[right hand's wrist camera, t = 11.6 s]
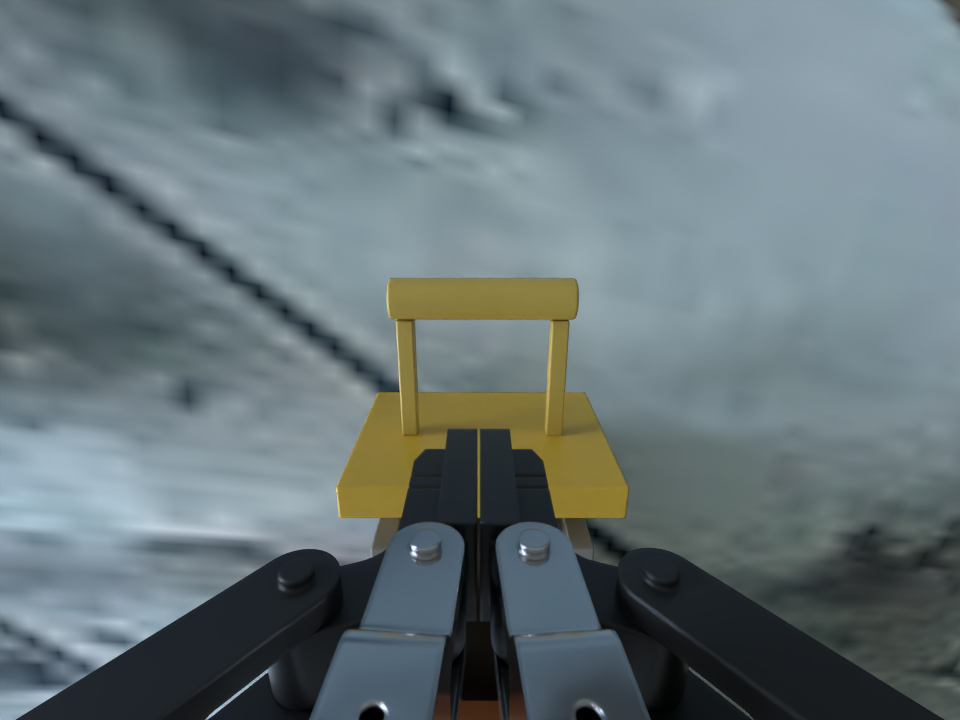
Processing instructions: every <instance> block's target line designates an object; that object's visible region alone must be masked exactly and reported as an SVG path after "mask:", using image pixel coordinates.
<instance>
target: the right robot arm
mask: <svg viewBox="0 0 960 720" xmlns="http://www.w3.org/2000/svg"><path fill="white" fill-rule="evenodd" d="M477 503H478V475H477V428H448V430H447V438H446V446H445V449H425V450H424V451H423V452H422V453H421V454H420V455H419V456H418V457H417V458H416V459H415V460H414V463H413V468H412V472H411V477H410V481H409V488H408V490H407V495H406V499H405V504H404V508H403V513H402V517H401V522H400V526H399V531H398V532H397V533H396V534H395V535H394V536H393V537H392V538H391V540H390V542H389V544H388V546H387V549H385V550H384V551H383V552H381V553H380V554H378V555H376V556H374V557H372V558H369V559H367V560H364V561H360V562H356V563H352V564H348V565H344V566H339V563H338V561H337V560H336V558H335V557H334V556H332V555H331V554H329V553H327V552H325V551H322V550H317V549H303V550H297V551H293V552H290V553H287V554H284V555H282V556H280V557H278V558H276V559H274V560H273V561H271V562H269V563H268V564H266V565H265V566H263V567H261V568H260V569H258V570H256V571H255V572H253V573H252V574H250V575H248V576H247V577H245V578H244V579H242V580H240V581H239V582H237V583H235V584H234V585H232V586H231V587H229V588H227V589H226V590H224V591H223V592H221V593H219V594H218V595H216V596H215V597H213V598H211V599H210V600H208V601H206V602H205V603H203V604H202V605H200V606H198V607H197V608H195V609H194V610H192V611H190V612H189V613H187V614H186V615H184V616H182V617H181V618H179V619H177V620H176V621H174V622H173V623H171V624H169V625H168V626H166V627H165V628H163V629H161V630H160V631H158V632H156V633H155V634H153V635H152V636H150V637H148V638H147V639H145V640H144V641H142V642H140V643H139V644H137V645H136V646H134V647H132V648H131V649H129V650H127V651H126V652H124V653H123V654H121V655H119V656H118V657H116V658H115V659H113V660H111V661H110V662H108V663H106V664H105V665H103V666H102V667H100V668H98V669H97V670H95V671H94V672H92V673H90V674H89V675H87V676H86V677H84V678H82V679H81V680H79V681H77V682H76V683H74V684H73V685H71V686H69V687H68V688H66V689H65V690H63V691H61V692H60V693H58V694H57V695H55V696H53V697H52V698H50V699H48V700H47V701H45V702H44V703H42V704H40V705H39V706H37V707H36V708H34V709H32V710H31V711H29V712H27V713H26V714H24V715H23V716H21V717H19V718H18V719H16V720H205V719H206V718H207V717H208V716H209V715H210V714H211V713H212V712H213V711H214V710H216V709H217V708H218V707H219V706H221V705H222V704H223V703H225V702H226V701H227V700H228V699H230V698H231V697H232V696H234V695H235V694H236V693H237V692H239V691H240V690H241V689H242V688H244V687H245V686H246V685H248V684H249V683H250V682H251V681H253V680H254V679H255V678H256V677H258V676H259V675H260V674H262V673H263V672H264V671H265V670H267V669H268V673H267V674H265V675H264V676H263V677H262V678H260V679H259V680H258V681H256V682H255V683H254V684H253V685H251V686H250V687H249V688H248V689H246V690H245V691H244V692H243V693H241V694H240V695H239V696H237V697H236V698H235V699H234V700H232V701H231V702H230V703H229V704H227V705H226V706H225V707H224V708H222V709H221V710H220V711H218V712H217V713H216V714H215V715H213V716H212V717H211V718H210V719H208V720H459V718H460V709H461V700H462V691H463V682H464V673H465V664H466V621H477ZM480 621H490V625H491V643H492V646H493V649H494V664H495V673H496V682H497V691H498V700H499V709H500V718H501V720H752V719H750V718H749V717H748V716H747V715H745V714H744V713H743V712H742V711H740V710H739V709H738V708H736V707H735V706H734V705H733V704H731V703H730V702H729V701H728V700H726V699H725V698H724V697H723V696H721V695H720V694H719V693H717V692H716V691H715V690H714V689H712V688H711V687H710V686H709V685H707V684H706V683H705V682H704V681H702V680H701V679H700V678H698V677H697V676H696V675H695V674H693V673H692V672H691V671H690V670H688V669H689V667H691V668H692V669H693V670H695V671H696V672H697V673H698V674H700V675H701V676H702V677H703V678H705V679H706V680H707V681H709V682H710V683H711V684H712V685H714V686H715V687H716V688H718V689H719V690H720V691H721V692H723V693H724V694H725V695H726V696H728V697H729V698H730V699H732V700H733V701H734V702H735V703H737V704H738V705H739V706H741V707H742V708H743V709H744V710H745V711H747V712H748V713H749V714H750V715H751V716H752V718H753V719H754V720H944V719H942V718H941V717H939V716H937V715H936V714H934V713H932V712H931V711H929V710H928V709H926V708H924V707H923V706H921V705H920V704H918V703H916V702H915V701H913V700H912V699H910V698H908V697H907V696H905V695H903V694H902V693H900V692H899V691H897V690H895V689H894V688H892V687H891V686H889V685H887V684H886V683H884V682H883V681H881V680H879V679H878V678H876V677H874V676H873V675H871V674H870V673H868V672H866V671H865V670H863V669H862V668H860V667H858V666H857V665H855V664H853V663H852V662H850V661H849V660H847V659H845V658H844V657H842V656H841V655H839V654H837V653H836V652H834V651H833V650H831V649H829V648H828V647H826V646H824V645H823V644H821V643H820V642H818V641H816V640H815V639H813V638H812V637H810V636H808V635H807V634H805V633H804V632H802V631H800V630H799V629H797V628H795V627H794V626H792V625H791V624H789V623H787V622H786V621H784V620H783V619H781V618H779V617H778V616H776V615H774V614H773V613H771V612H770V611H768V610H766V609H765V608H763V607H762V606H760V605H758V604H757V603H755V602H754V601H752V600H750V599H749V598H747V597H745V596H744V595H742V594H741V593H739V592H737V591H736V590H734V589H733V588H731V587H729V586H728V585H726V584H724V583H723V582H721V581H720V580H718V579H716V578H715V577H713V576H712V575H710V574H708V573H707V572H705V571H704V570H702V569H700V568H699V567H697V566H695V565H694V564H692V563H691V562H689V561H687V560H686V559H684V558H682V557H681V556H679V555H677V554H674V553H672V552H669V551H666V550H662V549H657V548H641V549H636V550H633V551H630V552H629V553H627V554H626V555H624V556H623V557H622V559H621V560H620V562H619V565H618V567H616V566H612V565H608V564H603V563H599V562H596V561H592V560H589V559H587V558H584V557H582V556H580V555H578V554H576V553H575V552H574V549H573V546H572V544H571V542H570V540H569V538H568V537H567V536H566V535H565V534H564V533H563V532H562V531H560V530H559V529H558V528H557V523H556V519H555V514H554V509H553V504H552V500H551V495H550V490H549V486H548V481H547V477H546V471H545V467H544V462H543V460H542V459H541V458H540V457H539V456H538V455H537V454H536V453H535V452H534V451H533V450H532V449H512V444H511V435H510V429H480Z"/></svg>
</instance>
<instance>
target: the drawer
mask: <svg viewBox="0 0 960 720" xmlns="http://www.w3.org/2000/svg"><path fill="white" fill-rule="evenodd" d="M578 305H579V289H578V283H577V281H576V279H574V278H391V279H389V281H388V285H387V310H388V314H389V317H390V318H391V319H397V321H396V333H397V350H398V368H399V385H400V392H379V393H378V394H377V397H376V399H375V401H374V403H373V406H372V408H371V410H370V412H369V415H368V417H367V419H366V421H365V424H364V426H363V428H362V430H361V433H360V435H359V437H358V439H357V442H356V444H355V446H354V448H353V451H352V453H351V455H350V457H349V460H348V462H347V464H346V467H345V469H344V471H343V473H342V476H341V478H340V480H339V482H338V485H337V487H336V493H337V501H338V510H339V516H340V517H341V518H379V522H378V526H377V529H376V533H375V536H374V540H373V543H372V547H371V558H372V557H374V556H376V555H378V554H380V553H381V552H383V551H384V550H385V549H387V546H388V544H389V542H390V540H391V538H392V537H393V536H394V535H395V534H396V533H397V532H398V531H399V526H400V522H401V517H402V513H403V508H404V504H405V499H406V495H407V490H408V488H409V481H410V477H411V472H412V468H413V463H414V460H415V459H416V458H417V457H418V456H419V455H420V454H421V453H422V452H423V451H424V450H425V449H445V446H446V438H447V430H448V428H477V475H478V503H477V621H466V664H465V673H464V682H463V691H462V700H472V701H499V700H498V691H497V682H496V673H495V664H494V649H493V646H492V643H491V625H490V621H480V429H510V435H511V444H512V449H532V450H533V451H534V452H535V453H536V454H537V455H538V456H539V457H540V458H541V459H542V460H543V462H544V467H545V471H546V477H547V481H548V486H549V490H550V495H551V500H552V504H553V509H554V514H555V519H556V523H557V528H558V529H559V530H560V531H562V532H563V533H564V534H565V535H566V536H567V537H568V538H569V540H570V542H571V544H572V546H573V549H574V552H575V553H576V554H578V555H580V556H582V557H584V558H587V559H589V560H592V561H593V554H594V548H593V545H592V541H591V538H590V535H589V531H588V528H587V524H586V521H585V518H625V517H626V511H627V502H628V494H629V487H628V485H627V482H626V480H625V478H624V476H623V474H622V472H621V469H620V467H619V465H618V463H617V461H616V458H615V456H614V454H613V452H612V450H611V448H610V445H609V443H608V441H607V439H606V437H605V435H604V432H603V430H602V428H601V426H600V424H599V421H598V419H597V417H596V415H595V413H594V411H593V408H592V406H591V404H590V402H589V400H588V398H587V395H586V393H565V382H566V367H567V352H568V337H569V320H573V319H575V318H576V315H577V312H578ZM415 319H420V320H550V333H549V352H548V372H547V391H546V393H544V392H418V380H417V358H416V336H415Z"/></svg>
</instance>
